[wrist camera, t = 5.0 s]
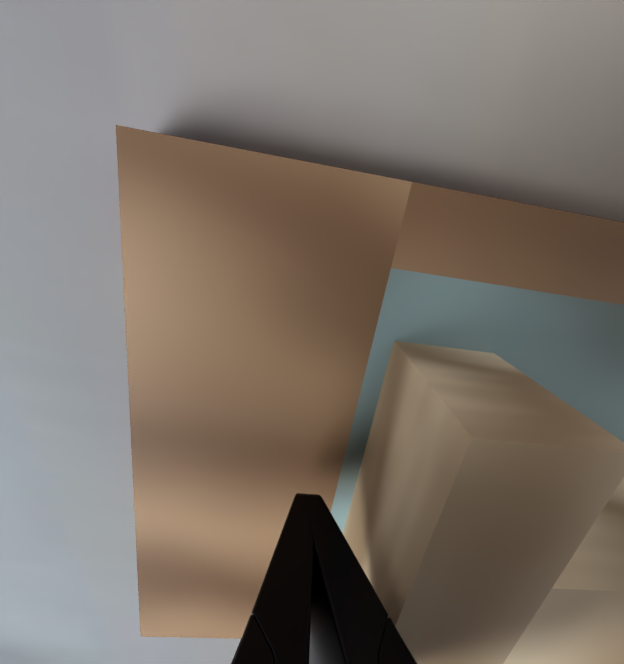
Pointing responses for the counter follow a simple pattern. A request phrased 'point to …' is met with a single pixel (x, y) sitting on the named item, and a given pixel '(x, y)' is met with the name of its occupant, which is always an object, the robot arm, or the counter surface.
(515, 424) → the t block
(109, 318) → the counter surface
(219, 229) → the push board
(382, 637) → the robot arm
